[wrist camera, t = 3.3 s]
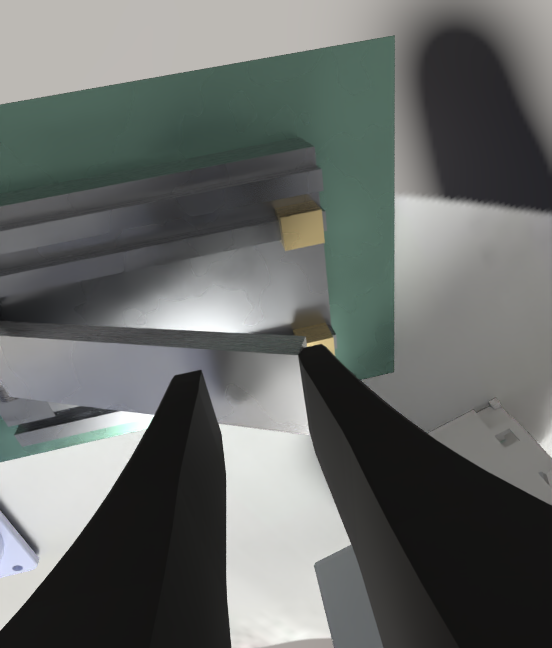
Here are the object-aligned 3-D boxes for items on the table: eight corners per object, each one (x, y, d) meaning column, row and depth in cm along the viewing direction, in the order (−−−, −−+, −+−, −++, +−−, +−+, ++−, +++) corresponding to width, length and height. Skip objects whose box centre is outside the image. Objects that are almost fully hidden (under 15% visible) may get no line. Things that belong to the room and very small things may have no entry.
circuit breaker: (273, 513, 25) (356, 967, 12) (495, 397, 23) (863, 795, 10) (328, 564, 29) (433, 950, 16) (522, 469, 27) (814, 822, 14)
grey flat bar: (14, 382, 14) (-8, 401, 14) (-30, 312, 13) (-57, 328, 12) (318, 417, 11) (309, 444, 10) (305, 326, 9) (295, 350, 9)
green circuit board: (6, 445, 19) (-34, 525, 16) (-209, 141, 12) (-362, 168, 9) (385, 359, 20) (423, 417, 17) (382, 37, 14) (445, 26, 10)
